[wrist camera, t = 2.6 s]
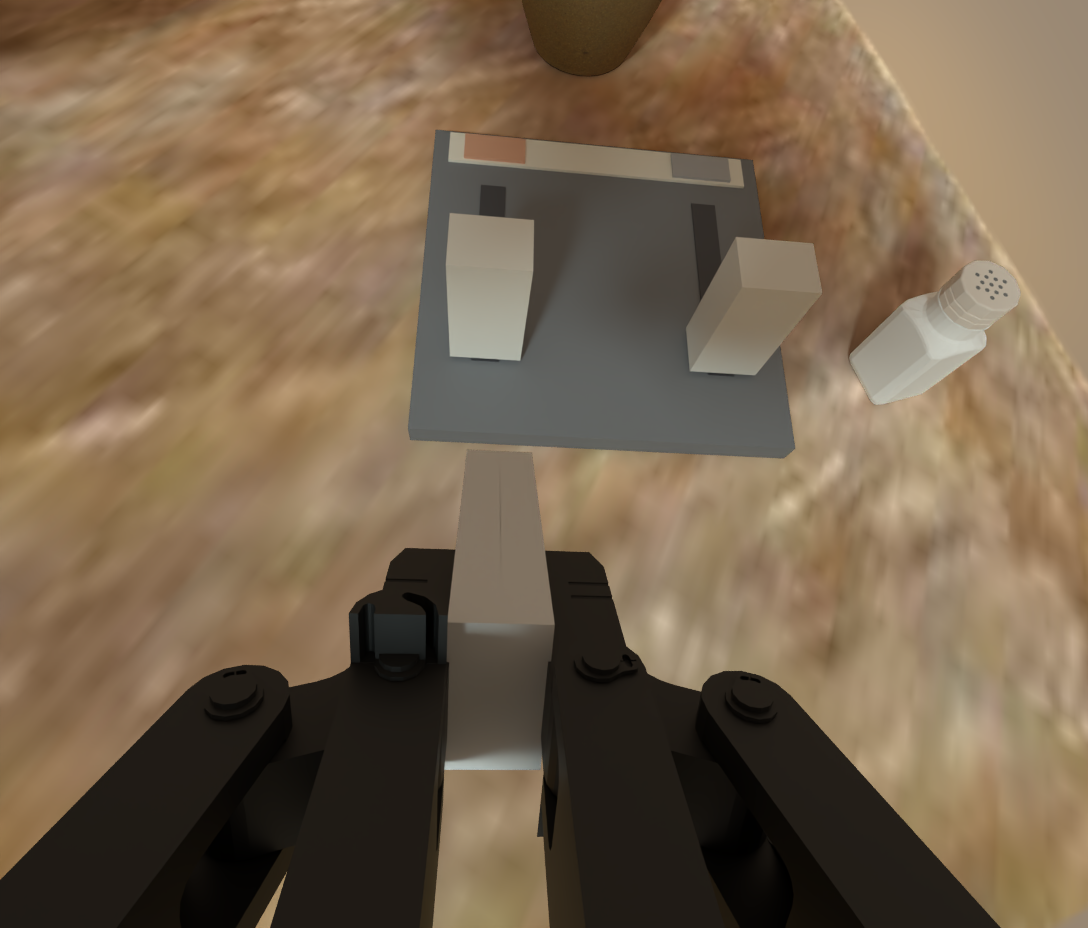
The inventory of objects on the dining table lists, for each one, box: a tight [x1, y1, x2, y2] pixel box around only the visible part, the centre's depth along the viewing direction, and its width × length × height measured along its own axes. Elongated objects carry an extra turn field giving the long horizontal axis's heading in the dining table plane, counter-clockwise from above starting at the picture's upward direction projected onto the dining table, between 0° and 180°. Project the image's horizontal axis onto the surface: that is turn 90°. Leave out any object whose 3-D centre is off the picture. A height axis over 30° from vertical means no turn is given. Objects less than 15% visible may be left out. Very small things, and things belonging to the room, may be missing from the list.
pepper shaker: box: [849, 260, 1021, 405], centre depth 38 cm, size 4×4×10 cm
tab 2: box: [686, 237, 822, 375], centre depth 36 cm, size 3×4×8 cm
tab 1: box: [446, 213, 534, 361], centre depth 34 cm, size 3×4×8 cm
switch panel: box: [408, 130, 795, 458], centre depth 41 cm, size 22×22×2 cm
